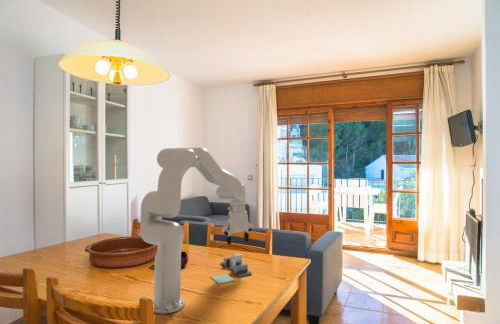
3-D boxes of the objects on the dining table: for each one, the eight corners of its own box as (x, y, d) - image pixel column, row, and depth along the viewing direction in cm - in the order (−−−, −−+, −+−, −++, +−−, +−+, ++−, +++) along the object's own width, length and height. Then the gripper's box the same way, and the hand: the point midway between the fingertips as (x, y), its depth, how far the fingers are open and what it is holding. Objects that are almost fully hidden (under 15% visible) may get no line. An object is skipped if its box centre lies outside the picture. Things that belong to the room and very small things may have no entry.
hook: (241, 271, 151) (242, 254, 151) (235, 272, 149) (235, 256, 149) (235, 266, 157) (235, 251, 157) (229, 267, 156) (229, 252, 156)
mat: (234, 280, 138) (234, 280, 138) (218, 284, 134) (218, 283, 134) (226, 274, 146) (226, 273, 146) (211, 277, 142) (211, 276, 142)
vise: (251, 274, 146) (251, 266, 146) (238, 277, 142) (238, 268, 142) (232, 262, 164) (232, 254, 164) (220, 264, 161) (220, 256, 161)
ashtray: (198, 263, 163) (198, 253, 163) (176, 272, 149) (176, 262, 149) (173, 257, 172) (173, 248, 172) (151, 265, 158) (151, 256, 158)
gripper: (225, 211, 144) (225, 247, 144) (256, 208, 153) (256, 242, 153) (218, 208, 151) (218, 243, 151) (249, 206, 159) (249, 238, 159)
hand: (237, 242), depth 152 cm, fingers open, 9 cm apart
